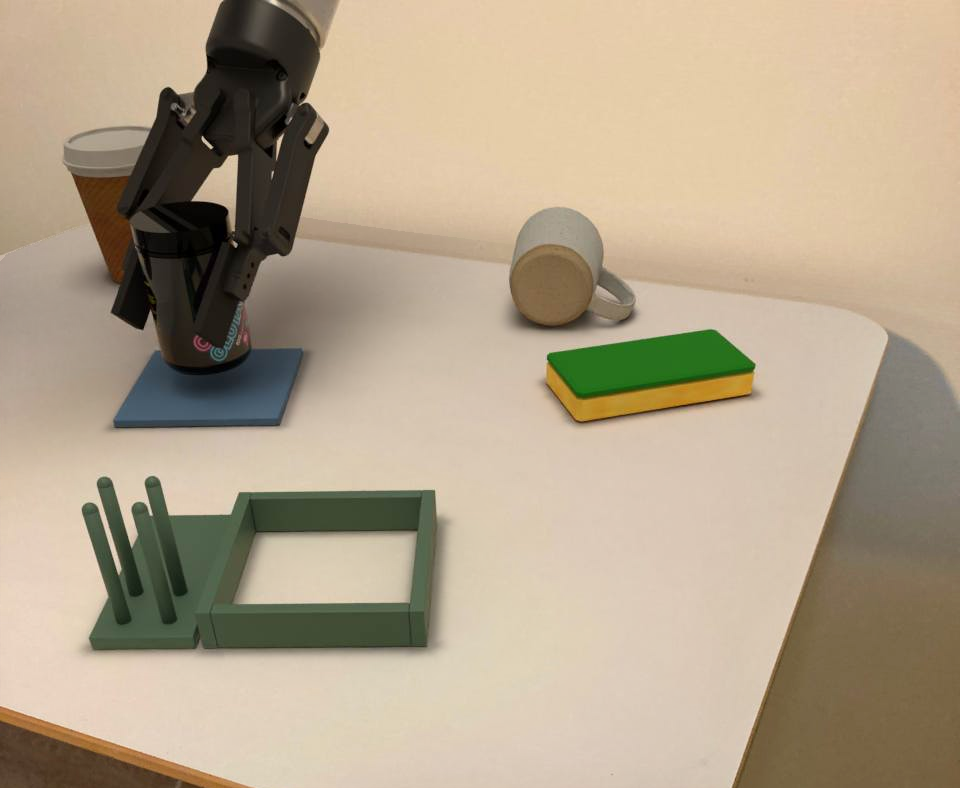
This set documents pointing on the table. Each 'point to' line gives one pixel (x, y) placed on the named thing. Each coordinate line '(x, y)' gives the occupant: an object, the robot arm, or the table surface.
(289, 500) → the dish rack
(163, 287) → the supplement container
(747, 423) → the table surface
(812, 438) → the table surface
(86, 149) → the disposable coffee cup
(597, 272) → the ceramic mug
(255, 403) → the blue mat
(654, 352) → the dish sponge
